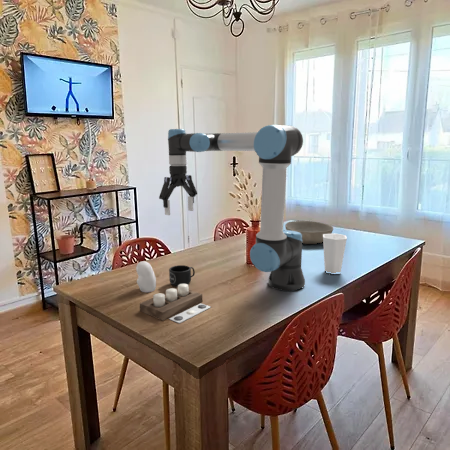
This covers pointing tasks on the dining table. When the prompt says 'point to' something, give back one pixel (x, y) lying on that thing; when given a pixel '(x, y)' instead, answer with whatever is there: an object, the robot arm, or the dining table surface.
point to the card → (189, 313)
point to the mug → (180, 275)
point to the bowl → (310, 230)
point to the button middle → (171, 295)
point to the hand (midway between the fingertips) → (179, 212)
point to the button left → (159, 300)
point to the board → (171, 305)
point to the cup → (333, 251)
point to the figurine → (145, 277)
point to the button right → (183, 290)
